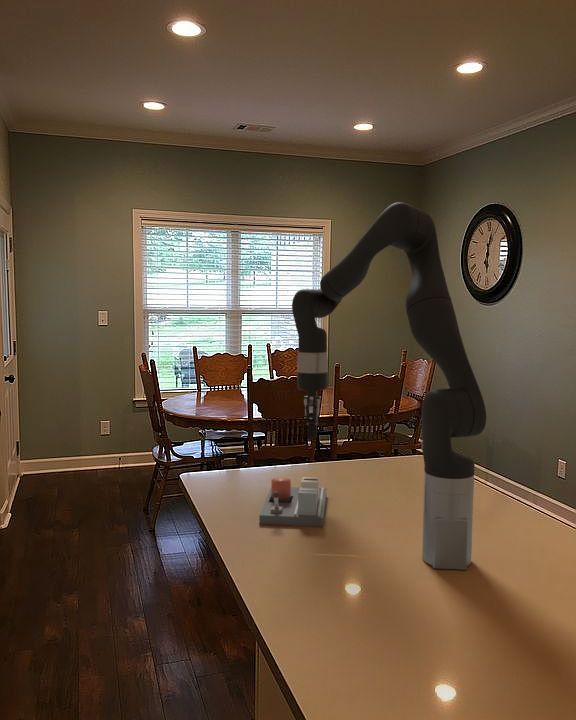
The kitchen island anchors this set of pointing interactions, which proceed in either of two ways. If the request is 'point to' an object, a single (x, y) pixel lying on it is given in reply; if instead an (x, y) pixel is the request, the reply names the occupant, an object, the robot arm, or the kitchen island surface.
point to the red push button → (281, 488)
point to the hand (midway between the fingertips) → (312, 439)
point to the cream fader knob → (311, 484)
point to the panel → (291, 510)
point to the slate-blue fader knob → (307, 501)
